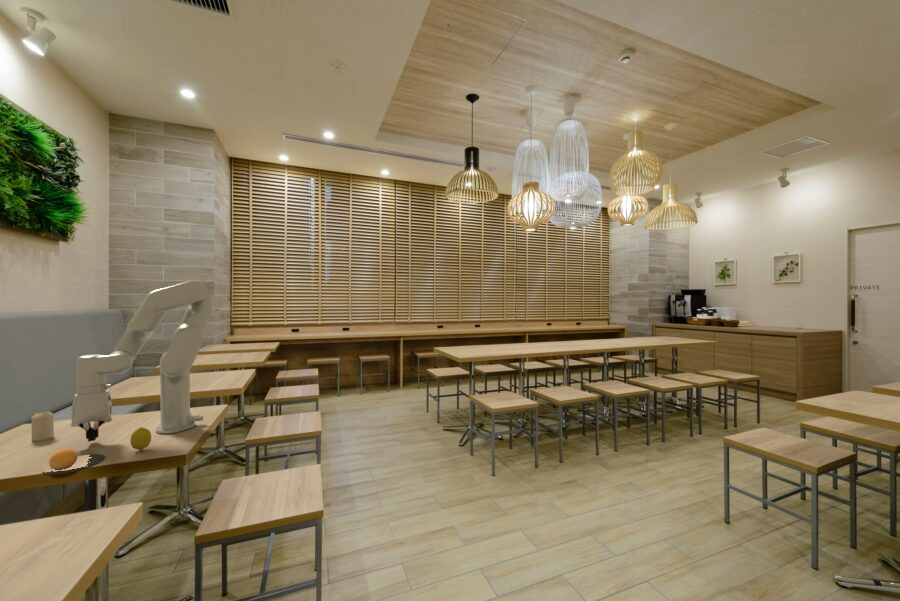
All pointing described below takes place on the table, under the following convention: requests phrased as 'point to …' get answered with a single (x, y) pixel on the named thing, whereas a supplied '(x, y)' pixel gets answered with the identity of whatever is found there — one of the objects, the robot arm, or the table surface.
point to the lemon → (140, 438)
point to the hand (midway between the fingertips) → (92, 439)
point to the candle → (42, 426)
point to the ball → (63, 459)
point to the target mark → (93, 461)
